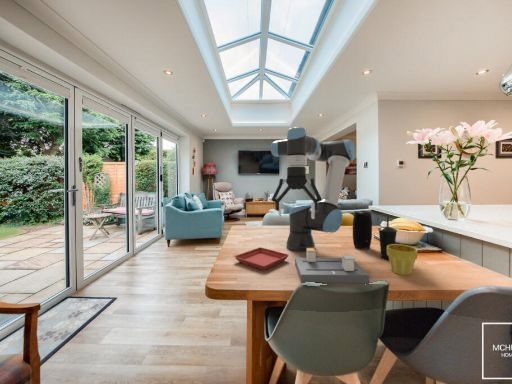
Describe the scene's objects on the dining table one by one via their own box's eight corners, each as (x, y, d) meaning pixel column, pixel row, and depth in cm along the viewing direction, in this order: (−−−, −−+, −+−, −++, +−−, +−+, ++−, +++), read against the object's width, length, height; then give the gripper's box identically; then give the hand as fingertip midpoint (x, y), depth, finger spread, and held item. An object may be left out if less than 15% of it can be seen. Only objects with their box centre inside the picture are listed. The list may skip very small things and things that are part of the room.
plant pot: (407, 279, 86) (407, 253, 85) (380, 269, 95) (381, 246, 95) (422, 273, 91) (423, 249, 90) (396, 265, 100) (396, 242, 99)
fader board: (300, 282, 84) (300, 274, 84) (295, 264, 102) (295, 257, 102) (369, 283, 83) (369, 274, 83) (351, 264, 101) (351, 257, 101)
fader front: (345, 270, 86) (345, 258, 85) (341, 266, 90) (341, 255, 90) (353, 270, 86) (354, 258, 85) (350, 266, 90) (350, 255, 89)
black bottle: (399, 261, 104) (400, 217, 103) (380, 260, 105) (381, 216, 104) (393, 256, 111) (394, 214, 110) (375, 255, 113) (376, 214, 112)
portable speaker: (373, 250, 120) (373, 212, 119) (353, 249, 123) (353, 212, 122) (369, 246, 128) (370, 210, 127) (351, 245, 131) (351, 210, 130)
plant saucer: (263, 273, 94) (263, 265, 94) (233, 263, 106) (233, 255, 106) (289, 261, 107) (289, 254, 107) (260, 253, 119) (260, 247, 119)
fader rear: (308, 261, 95) (308, 250, 95) (306, 258, 99) (306, 248, 99) (315, 262, 95) (315, 251, 95) (313, 258, 99) (313, 248, 99)
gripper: (266, 166, 92) (266, 220, 93) (329, 165, 92) (329, 219, 93) (265, 167, 99) (265, 217, 101) (324, 166, 99) (324, 216, 100)
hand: (296, 218), depth 97 cm, fingers open, 13 cm apart
